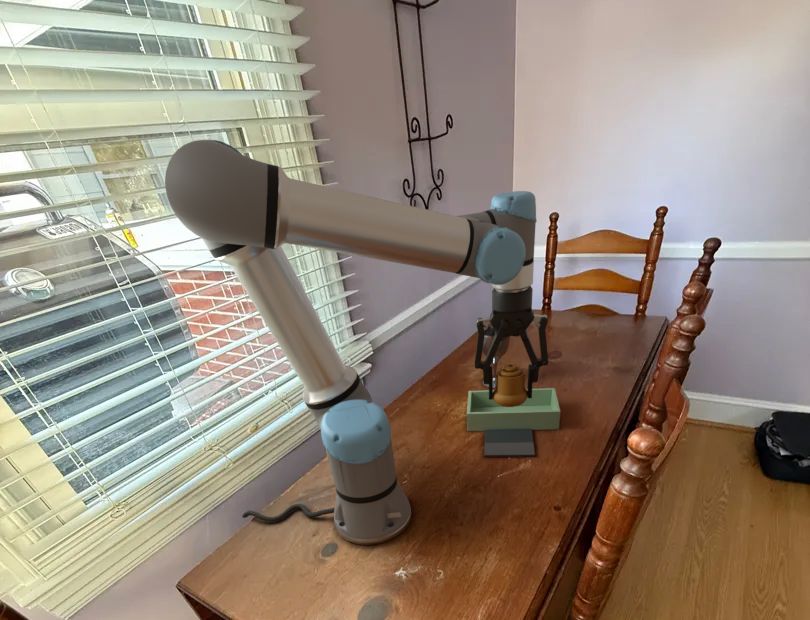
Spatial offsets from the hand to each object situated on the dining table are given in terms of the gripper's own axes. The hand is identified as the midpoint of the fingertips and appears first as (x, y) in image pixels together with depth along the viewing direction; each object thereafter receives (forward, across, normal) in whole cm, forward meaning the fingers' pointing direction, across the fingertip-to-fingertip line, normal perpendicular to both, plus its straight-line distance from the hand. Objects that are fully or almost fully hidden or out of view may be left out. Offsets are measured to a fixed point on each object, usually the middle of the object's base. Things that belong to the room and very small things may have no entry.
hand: (510, 395), depth 103 cm
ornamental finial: (+1, 0, 0) cm, 1 cm away
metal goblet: (+13, +3, -32) cm, 35 cm away
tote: (+12, -1, -12) cm, 17 cm away
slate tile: (+12, 0, 0) cm, 12 cm away
